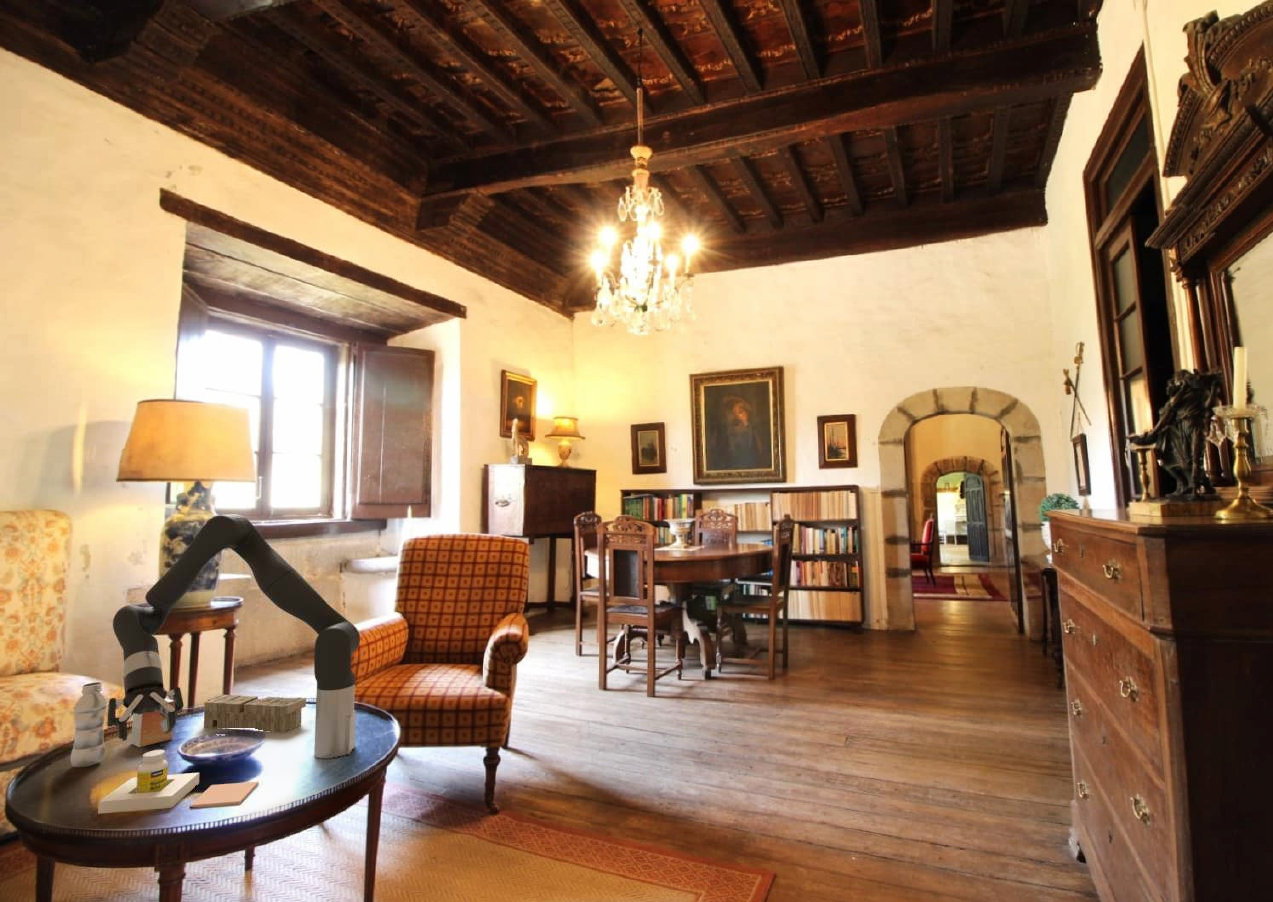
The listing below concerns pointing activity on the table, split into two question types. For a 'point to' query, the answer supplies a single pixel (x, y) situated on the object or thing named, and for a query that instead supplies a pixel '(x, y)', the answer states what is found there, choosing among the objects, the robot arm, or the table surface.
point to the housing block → (148, 795)
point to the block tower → (253, 712)
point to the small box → (150, 728)
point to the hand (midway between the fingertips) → (148, 733)
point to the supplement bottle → (152, 772)
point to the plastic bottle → (89, 726)
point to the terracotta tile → (224, 794)
